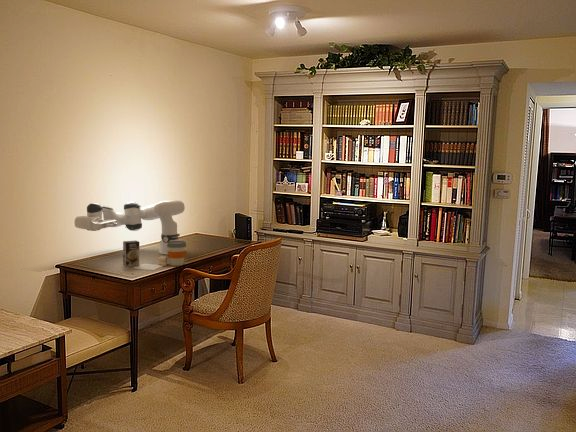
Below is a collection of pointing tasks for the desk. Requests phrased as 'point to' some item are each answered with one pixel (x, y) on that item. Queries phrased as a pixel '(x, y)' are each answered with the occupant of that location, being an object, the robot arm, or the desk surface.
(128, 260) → the coffee box
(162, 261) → the maple block
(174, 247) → the reusable coffee cup
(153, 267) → the grey mat
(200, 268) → the desk surface
